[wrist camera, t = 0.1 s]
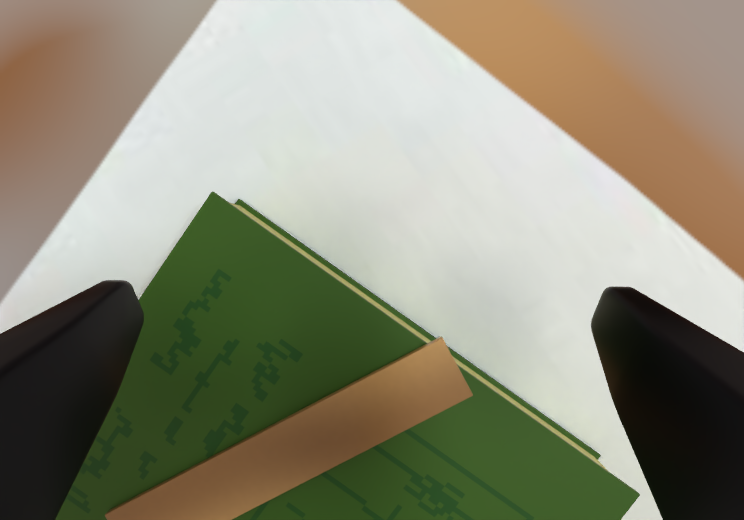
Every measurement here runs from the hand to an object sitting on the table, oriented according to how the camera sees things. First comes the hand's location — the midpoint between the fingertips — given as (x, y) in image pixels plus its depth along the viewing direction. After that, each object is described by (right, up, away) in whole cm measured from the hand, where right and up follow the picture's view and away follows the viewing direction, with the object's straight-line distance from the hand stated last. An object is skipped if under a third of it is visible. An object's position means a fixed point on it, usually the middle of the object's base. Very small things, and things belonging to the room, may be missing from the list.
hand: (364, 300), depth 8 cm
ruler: (-4, -8, +12) cm, 15 cm away
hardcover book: (-2, -11, +16) cm, 19 cm away
